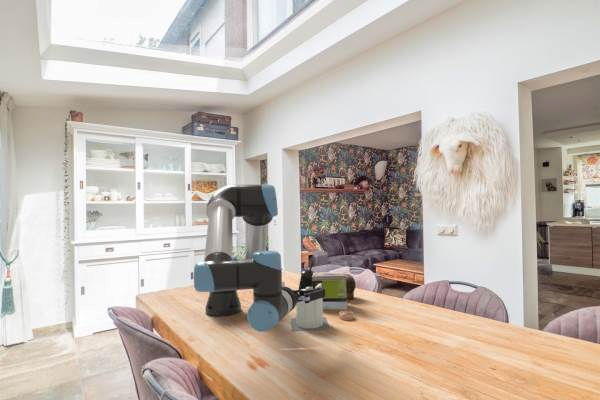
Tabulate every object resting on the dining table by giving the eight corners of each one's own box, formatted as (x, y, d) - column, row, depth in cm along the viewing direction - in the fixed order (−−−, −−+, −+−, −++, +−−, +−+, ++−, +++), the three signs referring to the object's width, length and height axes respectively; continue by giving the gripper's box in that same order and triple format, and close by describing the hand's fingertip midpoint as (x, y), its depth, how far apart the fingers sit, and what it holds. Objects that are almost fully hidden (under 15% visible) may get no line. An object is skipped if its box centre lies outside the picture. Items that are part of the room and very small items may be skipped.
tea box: (346, 303, 152) (345, 271, 153) (347, 310, 142) (346, 275, 143) (313, 303, 154) (313, 271, 154) (312, 310, 144) (311, 275, 144)
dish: (340, 321, 128) (340, 314, 128) (338, 316, 134) (338, 310, 134) (354, 321, 128) (354, 314, 128) (351, 316, 134) (351, 310, 134)
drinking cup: (291, 293, 162) (302, 257, 156) (305, 293, 165) (316, 257, 160) (297, 302, 155) (308, 265, 150) (311, 302, 158) (323, 266, 153)
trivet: (291, 332, 118) (291, 331, 118) (290, 319, 132) (290, 318, 132) (330, 330, 119) (330, 329, 119) (325, 318, 133) (325, 317, 133)
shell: (331, 300, 158) (330, 275, 158) (335, 295, 168) (335, 271, 168) (354, 302, 154) (353, 276, 155) (357, 296, 165) (356, 272, 165)
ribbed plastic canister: (297, 328, 120) (296, 291, 120) (296, 319, 130) (295, 284, 130) (324, 327, 121) (323, 290, 121) (321, 319, 130) (320, 284, 131)
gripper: (241, 312, 99) (268, 295, 119) (323, 318, 92) (337, 299, 112) (241, 287, 100) (268, 274, 120) (322, 291, 92) (336, 276, 113)
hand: (301, 286), depth 116 cm, fingers open, 13 cm apart
